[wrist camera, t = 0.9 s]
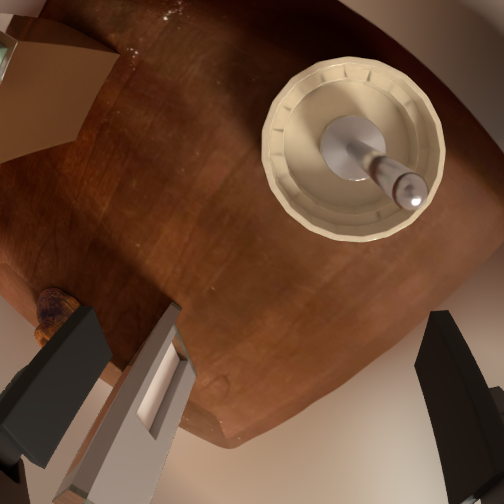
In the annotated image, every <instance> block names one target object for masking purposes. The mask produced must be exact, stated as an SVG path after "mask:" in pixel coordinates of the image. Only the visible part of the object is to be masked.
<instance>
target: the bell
mask: <svg viewBox="0 0 504 504" xmlns="http://www.w3.org/2000/svg"><path fill="white" fill-rule="evenodd" d="M79 306H80V304H79V302H78V301H77V300H76V299H75V298H73V297H72V296H69V295H68V294H66V293H65V292H63V291H62V290H60V289H57V288H48V289H45V290H44V291H43V292H42V293H41V294H40V296H39V299H38V302H37V318H38V321H39V324H40V325H39V326H38V327H37V328H36V330H35V333H34V336H35V338H36V340H37V342H38V343H39V345H40V347H41V348H43V346H44V345H45V344H46V343H47V342H48V340H49V339H50V338H51V337H52V336H53V335H54V334H55V332H56V331H57V330H58V329H59V328H60V327H61V326H62V324H63V323H64V322H65V321H66V320H67V319H68V318H69V317H70V315H71V314H72V313H73V312H74V311H75V310H76V309H77V308H78V307H79Z"/></svg>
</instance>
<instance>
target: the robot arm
mask: <svg viewBox="0 0 504 504" xmlns="http://www.w3.org/2000/svg"><path fill="white" fill-rule="evenodd" d="M112 356H113V355H112V352H111V350H110V348H109V346H108V343H107V341H106V338H105V336H104V334H103V331H102V329H101V326H100V324H99V321H98V319H97V316H96V313H95V311H94V308H93V307H91V306H81V305H80V306H79V307H78V308H77V309H76V310H75V311H74V312H73V313H72V314H71V315H70V317H69V318H68V319H67V320H66V321H65V322H64V323H63V324H62V326H61V327H60V328H59V329H58V330H57V331H56V332H55V334H54V335H53V336H52V337H51V338H50V339H49V340H48V342H47V343H46V344H45V345H44V346H43V348H42V349H41V350H40V351H39V352H38V353H37V355H36V356H35V357H34V358H33V360H32V361H31V362H30V363H29V364H28V365H27V366H25V367H24V368H23V369H21V370H20V371H19V372H18V373H17V374H16V375H15V376H14V378H13V379H12V380H11V383H9V384H8V385H7V386H6V388H5V390H3V391H2V393H1V394H0V504H30V499H29V494H28V488H27V483H26V476H25V469H24V463H23V460H22V459H21V458H20V457H21V455H22V454H24V456H26V457H27V458H28V459H29V461H31V462H32V463H34V464H36V465H37V466H39V467H41V468H43V469H45V468H46V466H47V464H48V462H49V460H50V458H51V457H52V455H53V453H54V451H55V450H56V448H57V446H58V444H59V443H60V441H61V439H62V437H63V436H64V434H65V432H66V431H67V429H68V427H69V425H70V424H71V422H72V420H73V419H74V417H75V415H76V413H77V412H78V410H79V409H80V407H81V405H82V404H83V402H84V400H85V399H86V397H87V396H88V394H89V392H90V391H91V389H92V388H93V386H94V384H95V383H96V381H97V379H98V378H99V376H100V375H101V373H102V372H103V370H104V368H105V367H106V365H107V364H108V362H109V361H110V359H111V358H112ZM414 367H415V370H416V373H417V376H418V379H419V382H420V386H421V389H422V392H423V395H424V399H425V402H426V406H427V409H428V413H429V417H430V420H431V424H432V428H433V432H434V436H435V439H436V444H437V448H438V452H439V457H440V461H441V466H442V471H443V475H444V480H445V486H446V491H447V496H448V503H449V504H474V503H475V502H476V501H478V500H479V499H480V500H481V504H504V391H503V390H502V389H501V388H500V387H499V386H497V387H493V388H488V386H487V384H486V381H485V379H484V377H483V375H482V373H481V371H480V369H479V367H478V365H477V363H476V361H475V359H474V357H473V355H472V353H471V351H470V349H469V347H468V345H467V343H466V341H465V340H464V338H463V336H462V334H461V332H460V330H459V328H458V327H457V325H456V323H455V321H454V319H453V318H452V316H451V314H450V313H449V311H448V310H444V311H430V315H429V319H428V322H427V326H426V329H425V333H424V336H423V340H422V343H421V346H420V349H419V353H418V356H417V359H416V362H415V365H414Z"/></svg>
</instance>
